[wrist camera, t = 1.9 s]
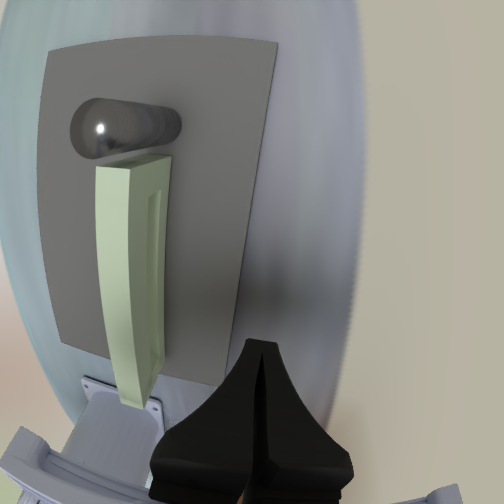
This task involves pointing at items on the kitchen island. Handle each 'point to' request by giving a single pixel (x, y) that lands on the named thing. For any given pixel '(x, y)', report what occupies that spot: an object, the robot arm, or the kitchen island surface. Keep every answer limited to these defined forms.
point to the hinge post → (121, 127)
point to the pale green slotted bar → (133, 268)
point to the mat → (180, 184)
